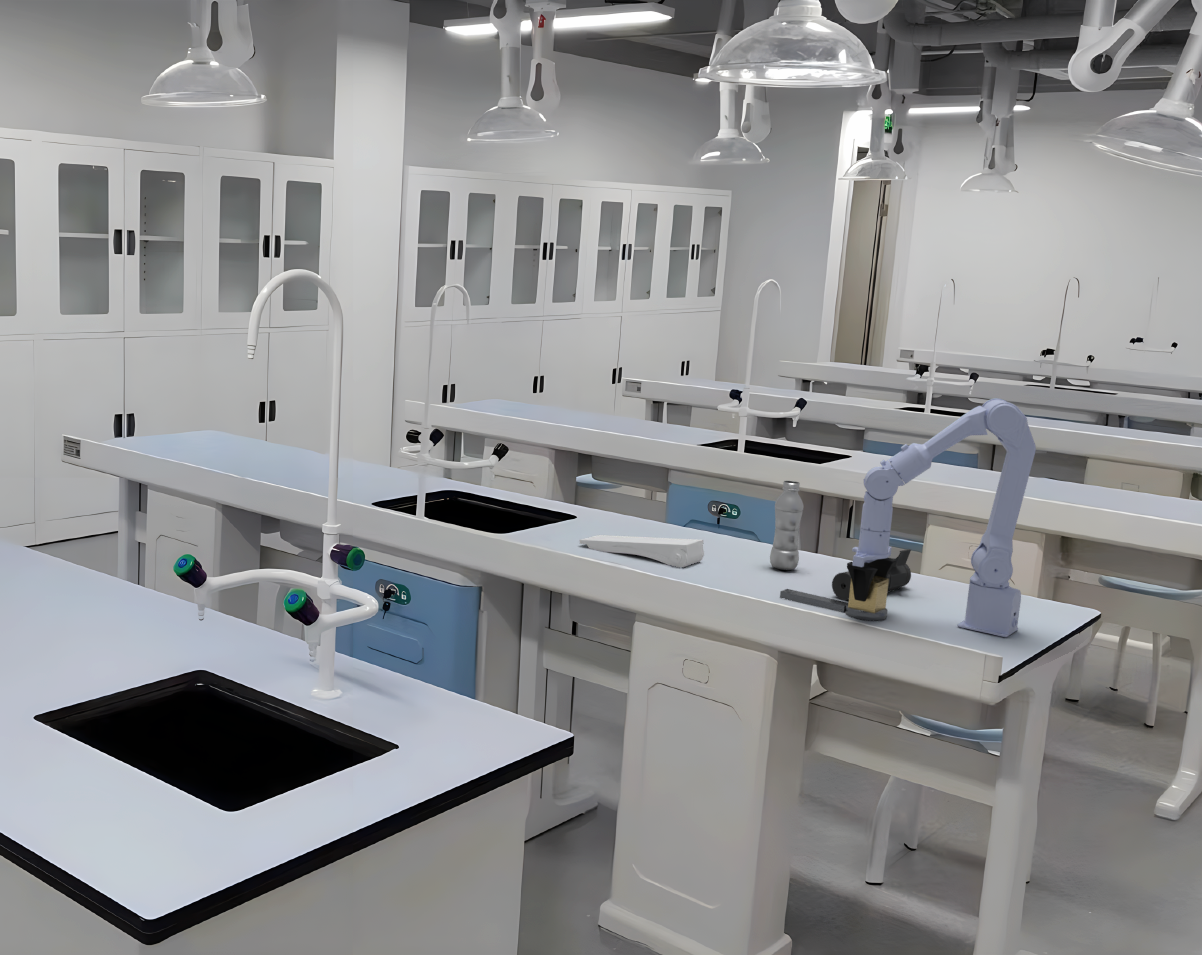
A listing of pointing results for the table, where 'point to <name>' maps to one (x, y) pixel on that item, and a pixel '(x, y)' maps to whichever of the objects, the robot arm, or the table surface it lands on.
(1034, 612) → the table surface
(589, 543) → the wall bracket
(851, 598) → the wood grain cube
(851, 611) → the ratchet
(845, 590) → the laser sight
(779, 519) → the plastic bottle
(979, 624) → the robot arm
